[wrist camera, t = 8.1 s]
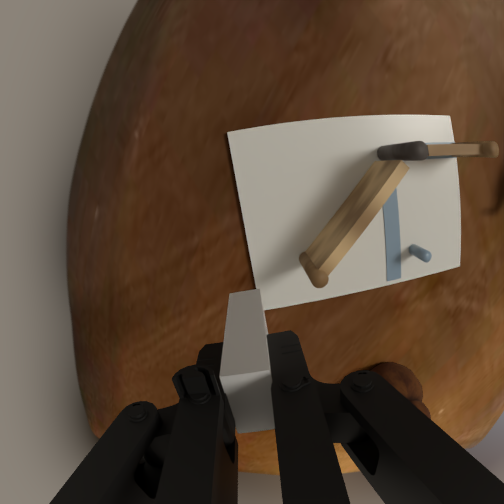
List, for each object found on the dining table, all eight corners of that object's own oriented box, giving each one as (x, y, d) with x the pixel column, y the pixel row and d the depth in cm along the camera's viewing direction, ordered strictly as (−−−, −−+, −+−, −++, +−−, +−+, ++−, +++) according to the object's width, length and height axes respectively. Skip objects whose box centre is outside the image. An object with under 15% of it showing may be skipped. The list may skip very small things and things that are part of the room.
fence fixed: (374, 146, 27) (411, 141, 19) (454, 143, 26) (497, 141, 19) (376, 162, 27) (414, 161, 20) (456, 156, 27) (499, 157, 20)
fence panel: (373, 159, 26) (402, 158, 20) (382, 169, 26) (413, 169, 21) (295, 259, 29) (307, 281, 23) (306, 268, 29) (320, 291, 23)
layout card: (227, 132, 26) (224, 127, 23) (447, 116, 26) (465, 112, 22) (260, 309, 31) (261, 324, 28) (458, 265, 30) (474, 274, 27)
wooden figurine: (353, 392, 35) (390, 479, 20) (362, 358, 33) (411, 447, 19) (397, 386, 35) (442, 462, 20) (408, 353, 33) (465, 428, 19)
